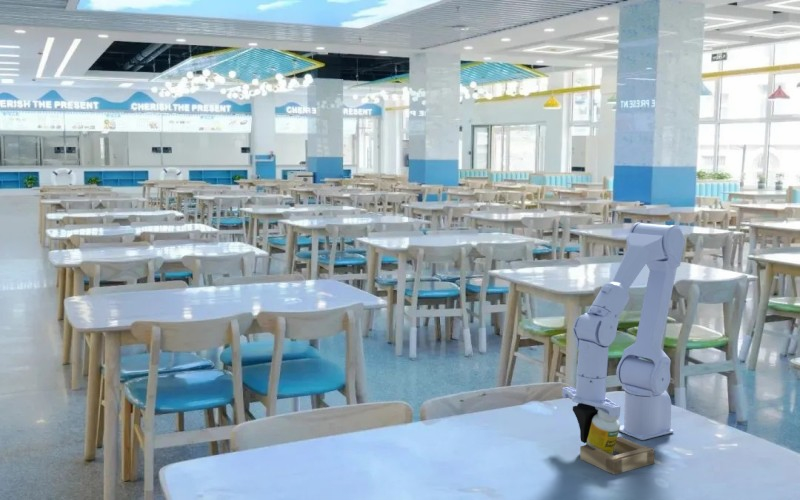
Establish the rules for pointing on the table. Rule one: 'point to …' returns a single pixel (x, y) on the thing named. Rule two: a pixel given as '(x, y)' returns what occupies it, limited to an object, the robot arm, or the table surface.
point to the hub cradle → (619, 456)
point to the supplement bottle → (603, 431)
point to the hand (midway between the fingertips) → (587, 441)
